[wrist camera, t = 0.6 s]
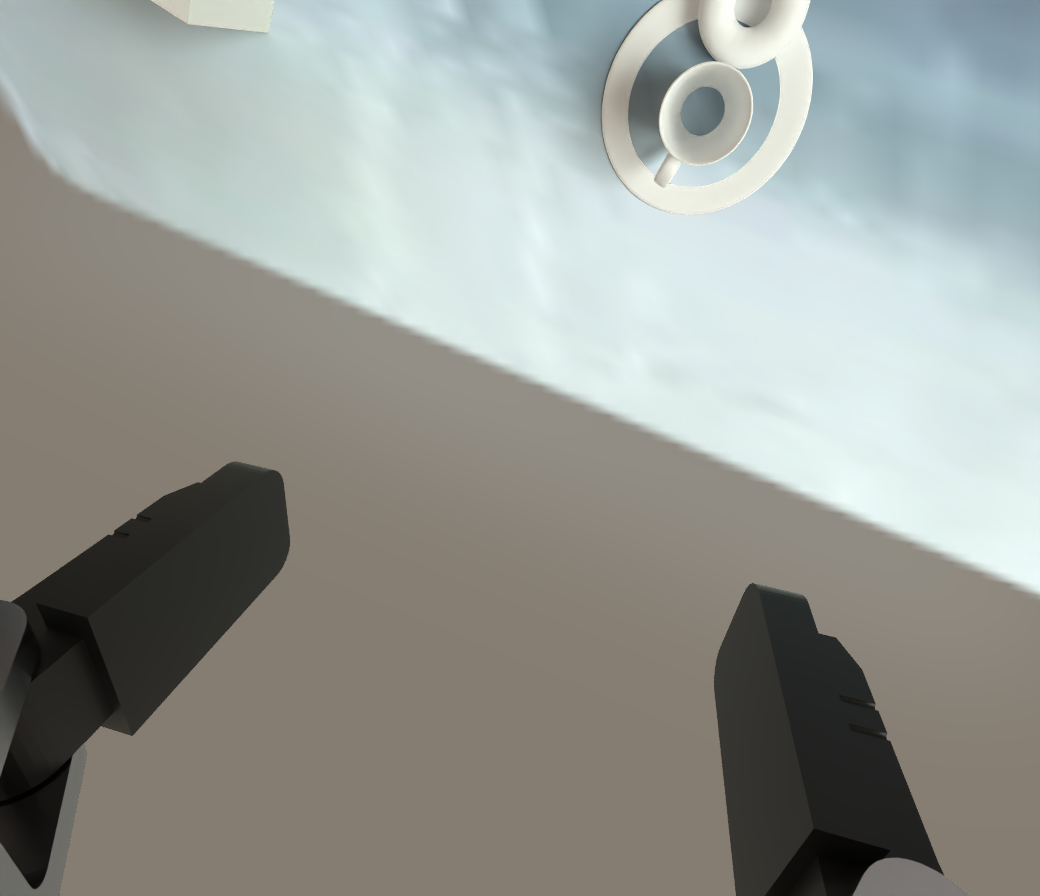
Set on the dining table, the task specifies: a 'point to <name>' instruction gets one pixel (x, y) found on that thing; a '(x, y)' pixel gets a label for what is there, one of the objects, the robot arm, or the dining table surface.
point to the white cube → (222, 13)
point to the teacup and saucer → (772, 33)
